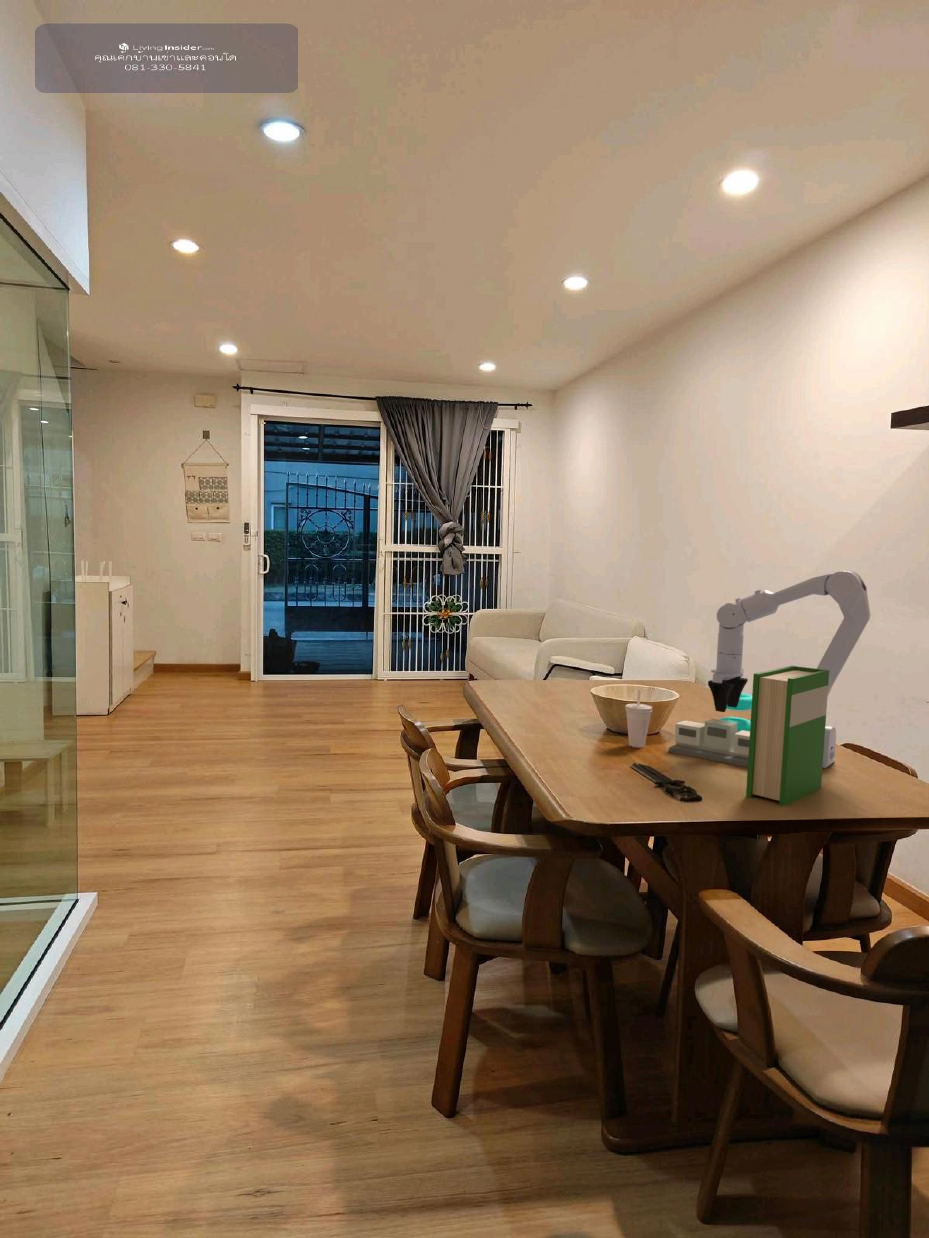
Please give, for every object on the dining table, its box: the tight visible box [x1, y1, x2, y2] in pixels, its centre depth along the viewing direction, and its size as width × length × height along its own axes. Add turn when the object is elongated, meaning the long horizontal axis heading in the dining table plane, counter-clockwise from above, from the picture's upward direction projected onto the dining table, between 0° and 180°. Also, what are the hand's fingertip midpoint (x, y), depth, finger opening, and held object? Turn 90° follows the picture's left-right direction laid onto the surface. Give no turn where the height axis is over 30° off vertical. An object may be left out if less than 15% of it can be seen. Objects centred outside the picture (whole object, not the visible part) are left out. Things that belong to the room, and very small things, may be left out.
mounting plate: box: [668, 719, 750, 768], centre depth 176 cm, size 20×11×6 cm, turn 50°
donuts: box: [718, 692, 752, 732], centre depth 200 cm, size 10×10×10 cm
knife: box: [630, 762, 703, 803], centre depth 155 cm, size 25×6×1 cm, turn 8°
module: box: [703, 718, 738, 752], centre depth 176 cm, size 6×5×6 cm
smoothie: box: [624, 687, 653, 748], centre depth 182 cm, size 6×6×14 cm
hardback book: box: [745, 665, 829, 807], centre depth 149 cm, size 18×7×24 cm, turn 134°
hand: (726, 709), depth 183 cm, fingers open, 7 cm apart
